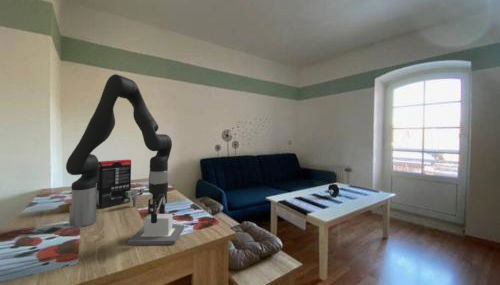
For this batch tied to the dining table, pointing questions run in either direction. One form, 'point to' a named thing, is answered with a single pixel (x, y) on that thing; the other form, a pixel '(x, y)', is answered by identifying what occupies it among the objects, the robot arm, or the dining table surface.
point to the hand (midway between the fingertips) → (158, 218)
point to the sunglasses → (64, 207)
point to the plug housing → (158, 225)
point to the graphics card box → (113, 183)
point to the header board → (156, 237)
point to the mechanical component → (134, 195)
